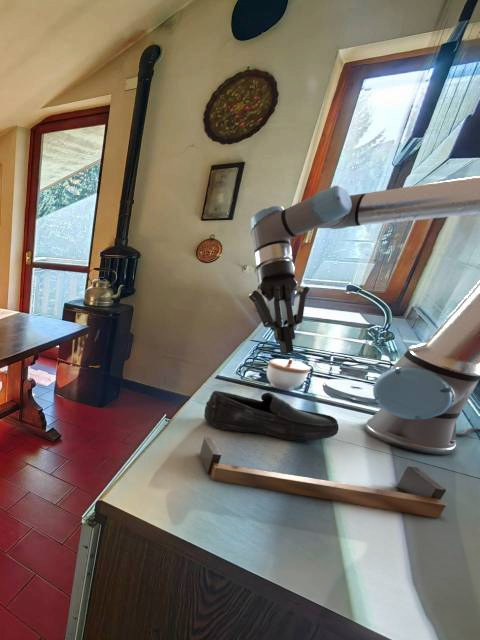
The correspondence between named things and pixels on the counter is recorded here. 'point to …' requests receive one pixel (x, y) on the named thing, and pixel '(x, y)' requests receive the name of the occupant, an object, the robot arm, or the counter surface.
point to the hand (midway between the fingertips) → (287, 352)
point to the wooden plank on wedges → (334, 486)
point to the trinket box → (286, 373)
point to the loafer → (267, 417)
